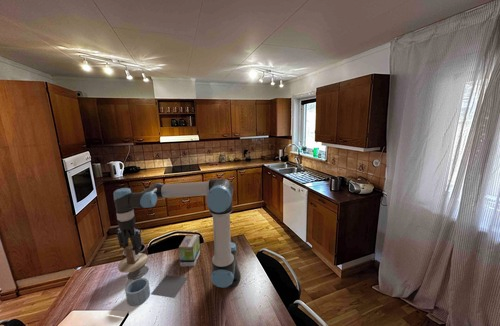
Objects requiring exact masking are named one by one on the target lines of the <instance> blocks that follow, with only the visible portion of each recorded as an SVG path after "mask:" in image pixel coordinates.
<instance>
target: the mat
mask: <svg viewBox="0 0 500 326" xmlns="http://www.w3.org/2000/svg"><path fill="white" fill-rule="evenodd" d="M188 279H189V278H188V277H185V276H178V275H177V276H176V275H170V274H169V275H168V274H166V275H165V276H164V277H163V279H162V280H161V281H160V282H159V283H158V285H157V286H156V287H155V288H154V289H153V291H151V292H150V295H154V296H160V297H166V298H172V299H175V298H176V297H177V295H178V294H179V292H180V291H181V289H182V287H183V286H184V284H185V283H186V282H187V280H188Z"/></svg>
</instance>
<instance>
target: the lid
mask: <svg viewBox="0 0 500 326" xmlns="http://www.w3.org/2000/svg"><path fill="white" fill-rule="evenodd" d="M132 250H133V246H132V243H129V245H128V246H127V247H126V248H125V253H126V258H125V259H123V258H122V259H121V261H119V263H118V265H117V270H118V271H119V272H120V273H122V274H123V273H124V274H126V273H127V274H128V273H129V272H132V271H135V270H138V269H140V268H141V267H143V266H144V265H145V266H146V264H148V261H149V255H148V256H147V255H146V254H143V253H139V258H138V259H137V260H136V261H134V257H133V251H132ZM126 259H127V260H126Z"/></svg>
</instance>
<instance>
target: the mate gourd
mask: <svg viewBox="0 0 500 326" xmlns="http://www.w3.org/2000/svg"><path fill="white" fill-rule="evenodd" d="M144 239H145V238H144V237H142V238H141V243H142V246H141V247H140V248H139V253H143V254H146V255H147V256H148V257H149V251H148V248H147V245H146V244H145V243H144ZM125 258H126V254H125V253H124V250H123V252H122V260H123V259H125ZM149 269H150V268H149V267H148V266H147V265H146V264H145V265H144V266H143V267H141V268H140V269H138V270H135V271H132V272H128V273H127V279H128V280H130V281H134V280H136V279H140V278H144V277H145V276H146V275H147V273H148V272H149V271H150V270H149Z"/></svg>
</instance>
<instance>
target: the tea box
mask: <svg viewBox="0 0 500 326" xmlns="http://www.w3.org/2000/svg"><path fill="white" fill-rule="evenodd" d="M200 245H201V244H200V235H199V234H198V235H197V234H196V235H195V234H194V235H185V237H184V238H183V240H182V241H181V243H180V244H179V246H178V252H179V265H180V267H195V266H196V264H197V261H198V258H199V256H200V254H201V248H200V247H201V246H200Z"/></svg>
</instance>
